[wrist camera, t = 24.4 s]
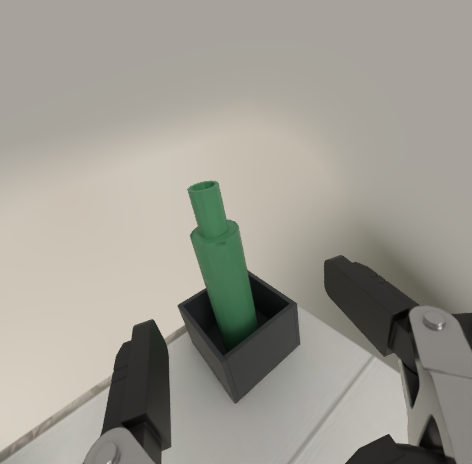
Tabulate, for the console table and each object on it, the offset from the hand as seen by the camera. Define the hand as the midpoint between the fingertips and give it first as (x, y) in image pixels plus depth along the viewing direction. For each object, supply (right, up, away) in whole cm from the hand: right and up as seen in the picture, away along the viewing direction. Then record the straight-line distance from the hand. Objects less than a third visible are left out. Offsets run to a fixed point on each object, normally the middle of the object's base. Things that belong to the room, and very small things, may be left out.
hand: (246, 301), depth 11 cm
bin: (+1, -13, +24) cm, 27 cm away
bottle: (0, -12, +23) cm, 26 cm away
